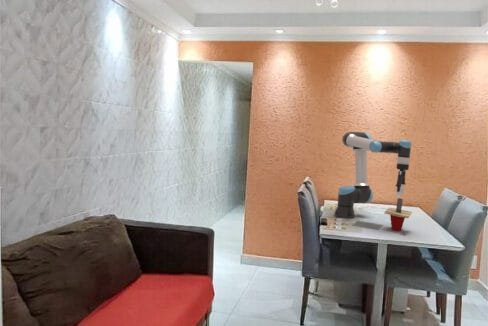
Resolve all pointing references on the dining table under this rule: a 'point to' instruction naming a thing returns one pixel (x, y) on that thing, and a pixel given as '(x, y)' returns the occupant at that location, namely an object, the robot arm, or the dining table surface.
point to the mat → (367, 225)
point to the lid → (398, 210)
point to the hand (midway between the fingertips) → (399, 195)
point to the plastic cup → (396, 222)
